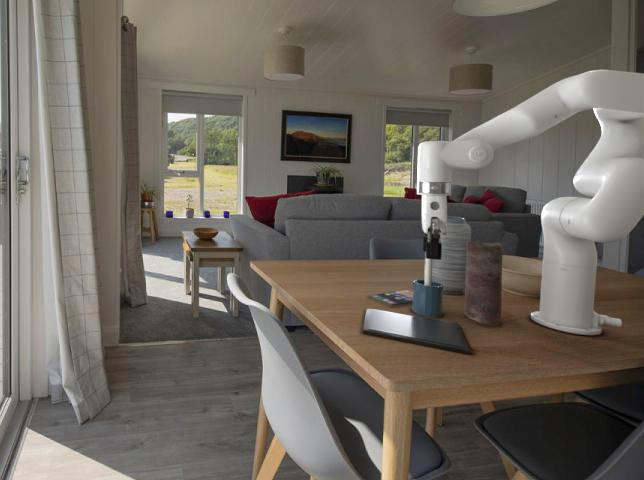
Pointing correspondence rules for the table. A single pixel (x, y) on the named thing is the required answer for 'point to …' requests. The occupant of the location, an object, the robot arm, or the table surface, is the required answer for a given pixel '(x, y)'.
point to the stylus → (428, 272)
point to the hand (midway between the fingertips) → (431, 255)
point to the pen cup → (427, 298)
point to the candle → (483, 282)
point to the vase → (452, 257)
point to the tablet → (415, 330)
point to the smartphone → (395, 297)
